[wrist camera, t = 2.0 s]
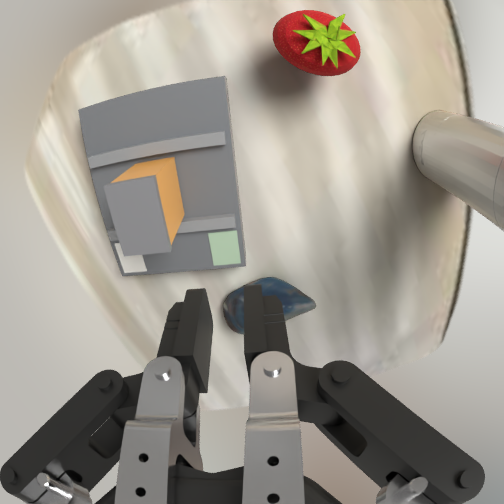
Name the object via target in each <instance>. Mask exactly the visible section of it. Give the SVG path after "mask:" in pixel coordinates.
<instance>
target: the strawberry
mask: <svg viewBox="0 0 504 504" xmlns="http://www.w3.org/2000/svg"><path fill="white" fill-rule="evenodd" d="M344 17H345V14H343V15H341V16H339V17H337V18H336V17H333V16H331V15H329V14H326V13H323V12H319V11H314V10H303V11H297V12H294V13H291V14H288V15H286V16H284V17H283V18H281V19H280V20H279V21H278V22H277V23H276V25H275V27H274V30H273V41H274V44H275V47H276V48H277V50H278V51H279V53H280V54H281V55H282V56H283V57H284V58H285V59H286V60H287V61H288V62H289V63H291V64H292V65H294V66H295V67H297V68H299V69H301V70H303V71H305V72H308V73H312V74H315V75H321V76H335V75H340V74H343V73H346V72H347V71H349V70H351V69H352V68H353V66H354V65H355V64H356V63H357V62H358V60H359V57H360V45H359V42H358V39H357V37H356V36H355V34H354V33H356V32H353V31H352V30H351V29H350V28H349V27H348V26H347V25H346V24H345V23H343V19H344Z"/></svg>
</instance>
